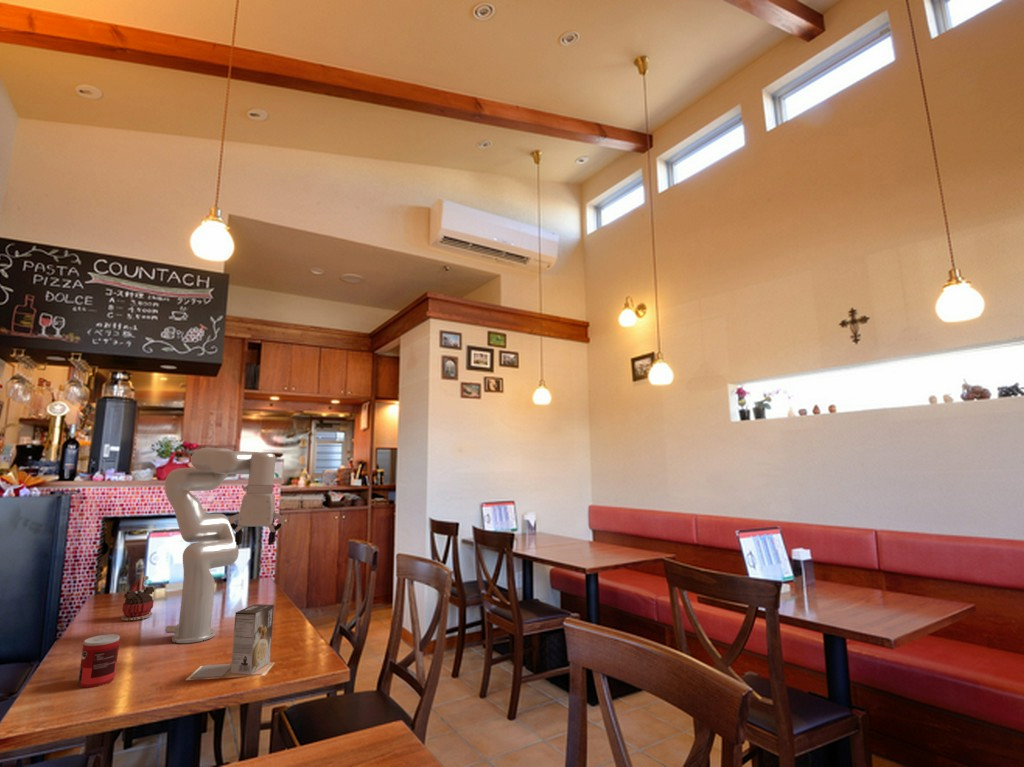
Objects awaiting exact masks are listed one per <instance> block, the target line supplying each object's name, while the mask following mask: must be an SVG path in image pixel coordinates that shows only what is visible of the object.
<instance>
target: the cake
mask: <svg viewBox="0 0 1024 767" xmlns="http://www.w3.org/2000/svg"><path fill="white" fill-rule="evenodd" d="M139 577H140V578H138V579H137V580H136V581H135V582H134V583H133V584H132V587H131V588H130V590H129V591H126V593H124V594H123V595H124V596H123V599H124V600H125V602H123V604H122V613H123V615H122V616H121V618H120V619H121V620H122V621H130V620H133V621H139V620H138V619H141V620H144V618H145V619H147V618H150V617H152V615H153V612H151V611H152V609H153V608H154V601H155V600H154V599H153V596H152V595H153V593H154V592H155V588H154V586H148V587H146V586H145V581H146V582H147V581H148V580H149V578H150V577H149V576H148V575H145V569H144V568H142V569H140V576H139Z"/></svg>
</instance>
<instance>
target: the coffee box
mask: <svg viewBox="0 0 1024 767" xmlns="http://www.w3.org/2000/svg"><path fill="white" fill-rule="evenodd" d="M274 606H275V605H274V604H263V603H262V604H259V603H257V604H255V603H254V604H252V605H250V606H247V607H245V608H243V609H241V610H239V611H235V617H234V629H233V640H232V652H231V663H230V664H231V673H232V674H253V673H254V672H256V671H257V670H259V669H260V668H262V667H263V666H265V665H267V664H268V663H270V662H271V650H272V637H273V625H274V624H273V621H274V609H275V608H274Z"/></svg>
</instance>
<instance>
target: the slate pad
mask: <svg viewBox="0 0 1024 767" xmlns="http://www.w3.org/2000/svg"><path fill="white" fill-rule="evenodd" d="M202 666H203V667H202V668H200V669H199V670H198V671H197V672H196V673H195V674H194V675H193V676H192V677H191V678H190V679H196V680H199V679H198V678H214V679H217V678H216V677H223V676H224V675H225V674H226V673H227V672H228V671H229V670H230V669H231V663H226V664H225V663H224V664H221V663H220V664H206V665H202Z"/></svg>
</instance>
